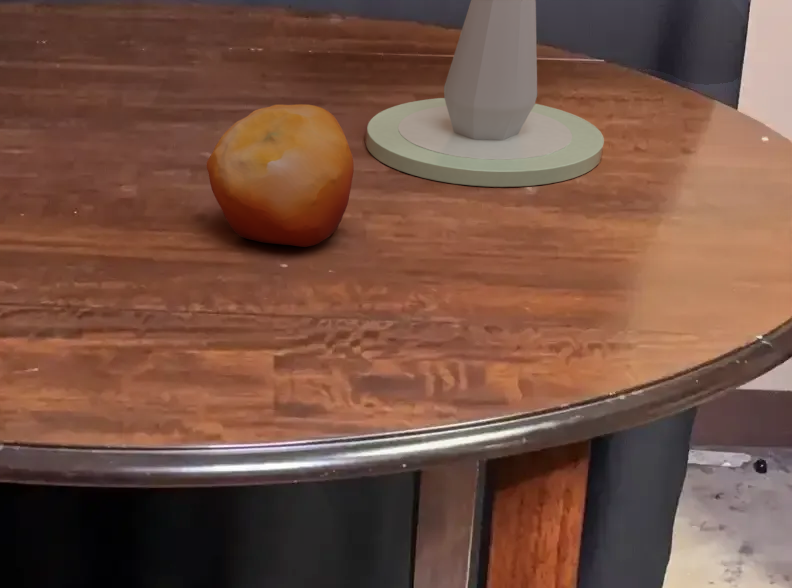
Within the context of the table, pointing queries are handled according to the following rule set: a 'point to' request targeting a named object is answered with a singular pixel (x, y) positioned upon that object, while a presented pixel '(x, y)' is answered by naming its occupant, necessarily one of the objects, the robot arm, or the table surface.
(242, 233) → the fruit
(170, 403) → the table surface
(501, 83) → the salt shaker
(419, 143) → the plate
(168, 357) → the table surface
